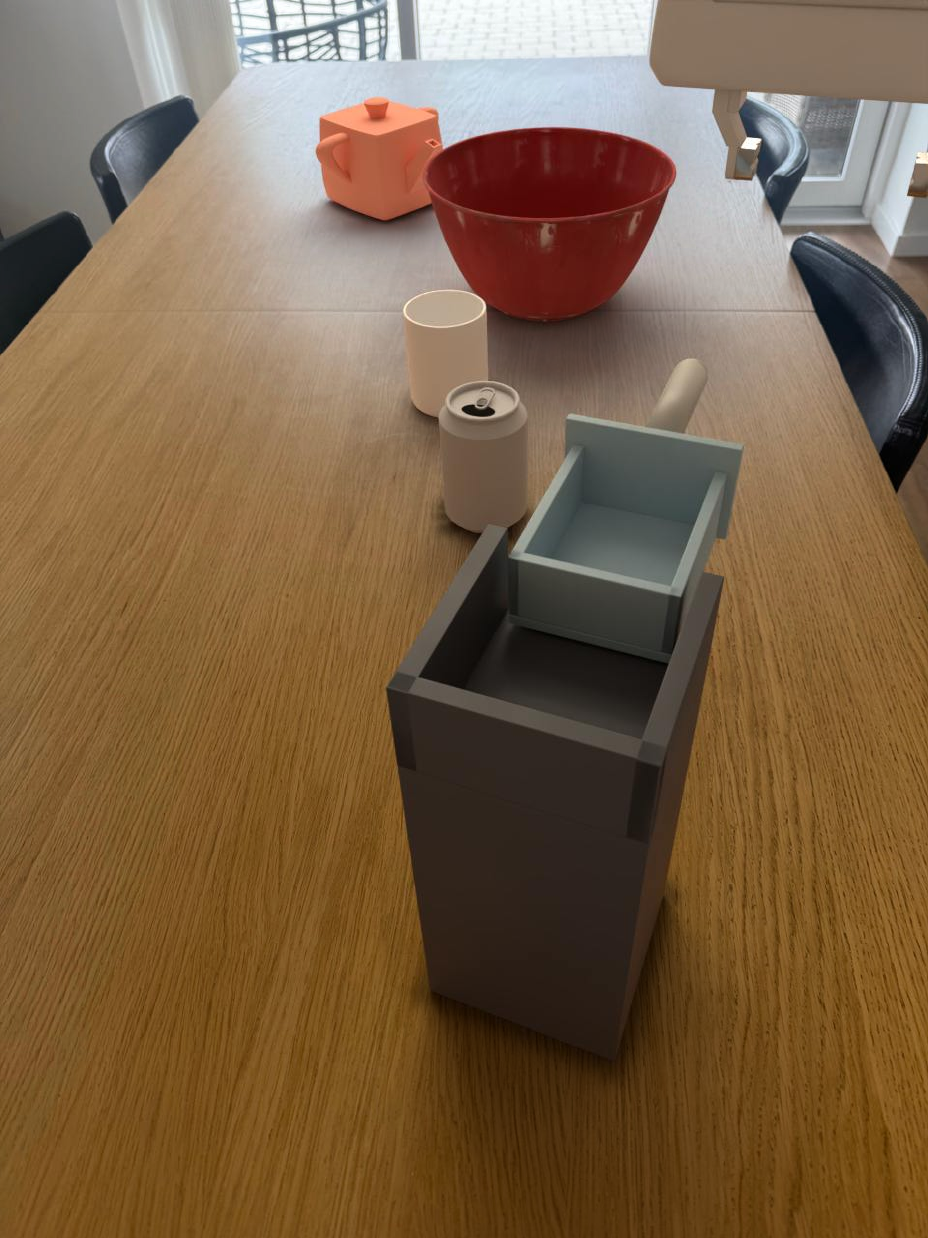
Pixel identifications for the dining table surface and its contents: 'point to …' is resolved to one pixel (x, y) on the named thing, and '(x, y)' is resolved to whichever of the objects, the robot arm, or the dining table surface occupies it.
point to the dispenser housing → (541, 802)
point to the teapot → (378, 156)
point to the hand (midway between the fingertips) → (828, 185)
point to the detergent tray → (626, 527)
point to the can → (484, 455)
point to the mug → (444, 345)
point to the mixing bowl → (548, 215)
